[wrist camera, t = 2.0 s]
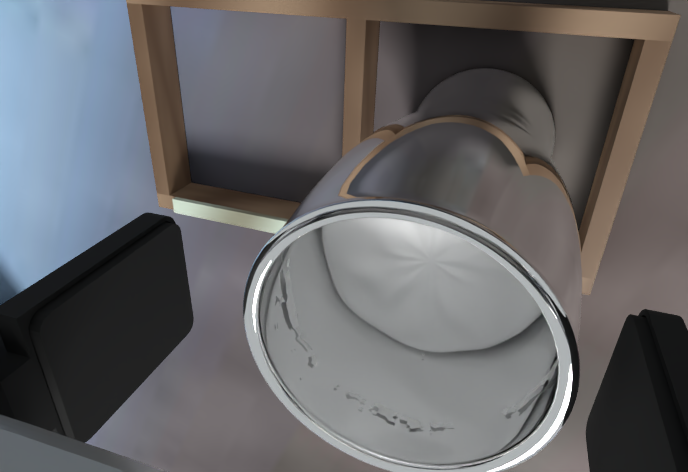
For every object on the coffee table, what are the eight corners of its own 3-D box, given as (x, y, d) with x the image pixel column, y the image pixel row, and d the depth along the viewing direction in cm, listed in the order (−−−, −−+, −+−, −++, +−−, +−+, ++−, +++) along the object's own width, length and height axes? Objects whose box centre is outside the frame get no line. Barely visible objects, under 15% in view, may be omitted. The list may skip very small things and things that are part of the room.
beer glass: (373, 146, 24) (184, 337, 11) (474, 18, 20) (353, 99, 8) (484, 239, 24) (417, 528, 12) (605, 131, 20) (697, 390, 8)
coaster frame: (668, 10, 18) (682, 15, 16) (586, 271, 23) (590, 299, 21) (152, -18, 24) (118, -17, 22) (181, 193, 29) (155, 208, 27)
